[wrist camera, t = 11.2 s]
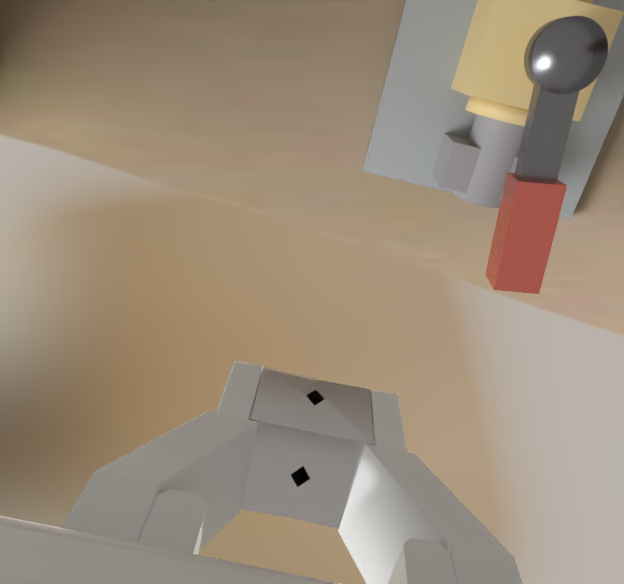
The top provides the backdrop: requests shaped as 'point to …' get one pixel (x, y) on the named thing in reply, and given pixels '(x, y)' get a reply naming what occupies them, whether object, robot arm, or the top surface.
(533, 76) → the lever
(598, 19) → the valve assembly
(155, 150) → the top surface
